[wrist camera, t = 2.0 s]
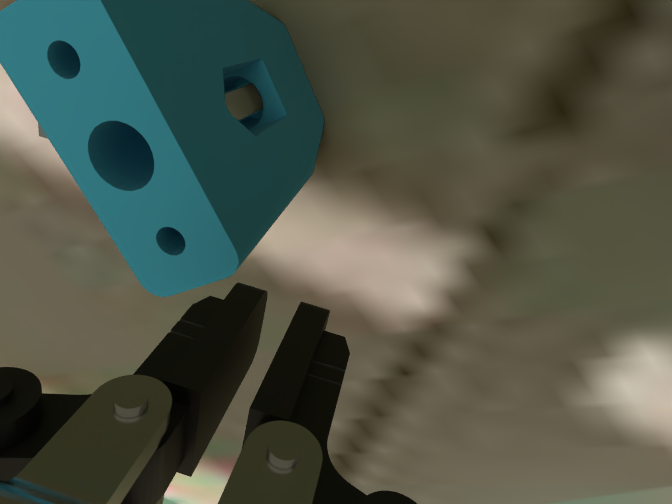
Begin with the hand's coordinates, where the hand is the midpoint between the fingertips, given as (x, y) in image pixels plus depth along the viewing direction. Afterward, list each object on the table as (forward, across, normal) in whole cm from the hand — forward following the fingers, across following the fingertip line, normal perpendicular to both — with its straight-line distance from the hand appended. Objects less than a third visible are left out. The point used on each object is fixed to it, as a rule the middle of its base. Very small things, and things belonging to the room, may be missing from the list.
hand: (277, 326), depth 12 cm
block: (+27, +8, 0) cm, 29 cm away
